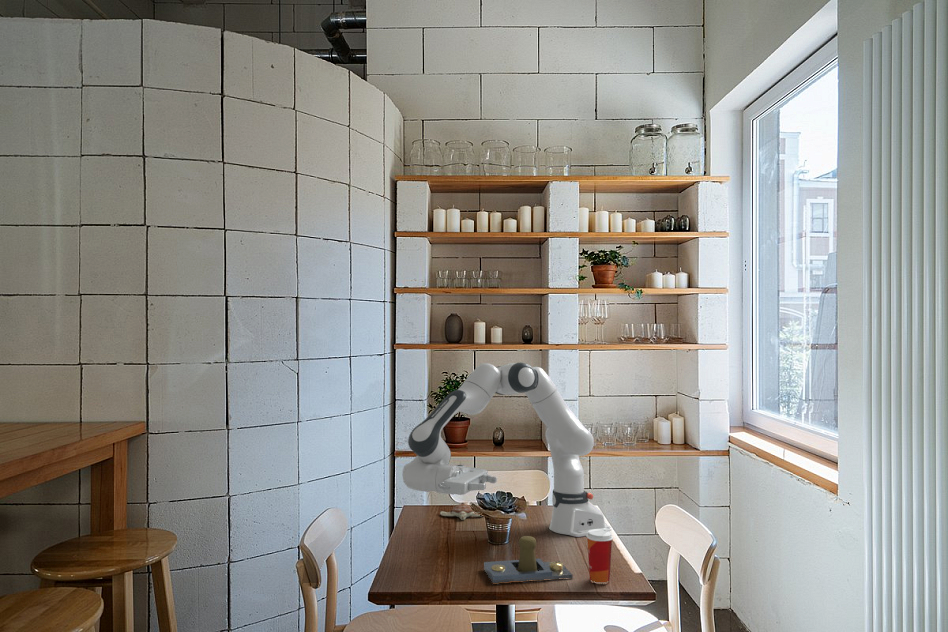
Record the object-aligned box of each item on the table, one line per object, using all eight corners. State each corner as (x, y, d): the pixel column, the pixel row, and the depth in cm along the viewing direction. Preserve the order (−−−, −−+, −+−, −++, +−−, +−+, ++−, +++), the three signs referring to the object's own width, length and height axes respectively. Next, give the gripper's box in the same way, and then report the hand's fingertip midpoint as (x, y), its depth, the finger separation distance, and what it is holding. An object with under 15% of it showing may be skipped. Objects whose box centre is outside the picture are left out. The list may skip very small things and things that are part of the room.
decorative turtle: (438, 522, 239) (439, 509, 239) (441, 510, 256) (441, 498, 256) (486, 523, 239) (486, 509, 239) (485, 511, 256) (485, 498, 256)
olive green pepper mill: (537, 578, 182) (537, 540, 183) (516, 577, 183) (517, 539, 183) (537, 571, 188) (537, 534, 189) (517, 570, 189) (517, 533, 189)
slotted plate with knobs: (559, 564, 193) (559, 555, 194) (572, 578, 182) (572, 569, 182) (484, 570, 188) (484, 560, 189) (493, 584, 177) (493, 574, 177)
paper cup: (596, 574, 186) (596, 526, 187) (618, 581, 180) (618, 532, 181) (580, 581, 180) (580, 532, 181) (603, 588, 175) (603, 538, 176)
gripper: (435, 476, 187) (477, 480, 182) (462, 463, 206) (502, 466, 201) (435, 497, 187) (477, 502, 181) (462, 482, 206) (502, 486, 200)
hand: (490, 483), depth 191 cm, fingers open, 8 cm apart
